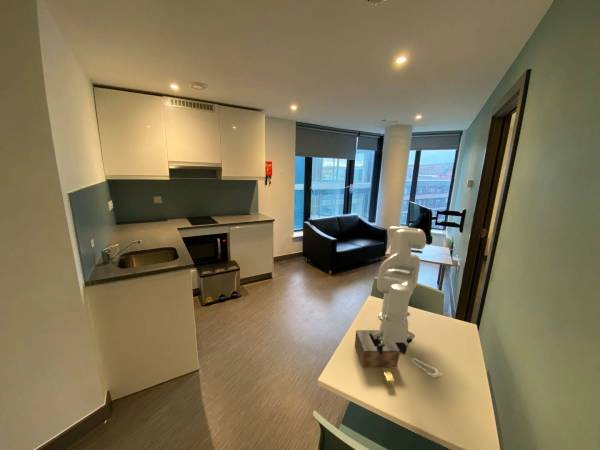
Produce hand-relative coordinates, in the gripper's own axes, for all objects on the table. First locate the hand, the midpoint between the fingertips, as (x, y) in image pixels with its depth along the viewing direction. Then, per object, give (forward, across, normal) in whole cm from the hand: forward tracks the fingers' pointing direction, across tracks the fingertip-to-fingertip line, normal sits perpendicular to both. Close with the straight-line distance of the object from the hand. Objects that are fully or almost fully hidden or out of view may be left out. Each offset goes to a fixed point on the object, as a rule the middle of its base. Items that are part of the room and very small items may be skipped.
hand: (391, 352), depth 99 cm
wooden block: (+15, 0, 0) cm, 15 cm away
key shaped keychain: (+15, -20, -7) cm, 26 cm away
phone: (+15, -15, -24) cm, 32 cm away
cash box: (+14, 0, -14) cm, 21 cm away
